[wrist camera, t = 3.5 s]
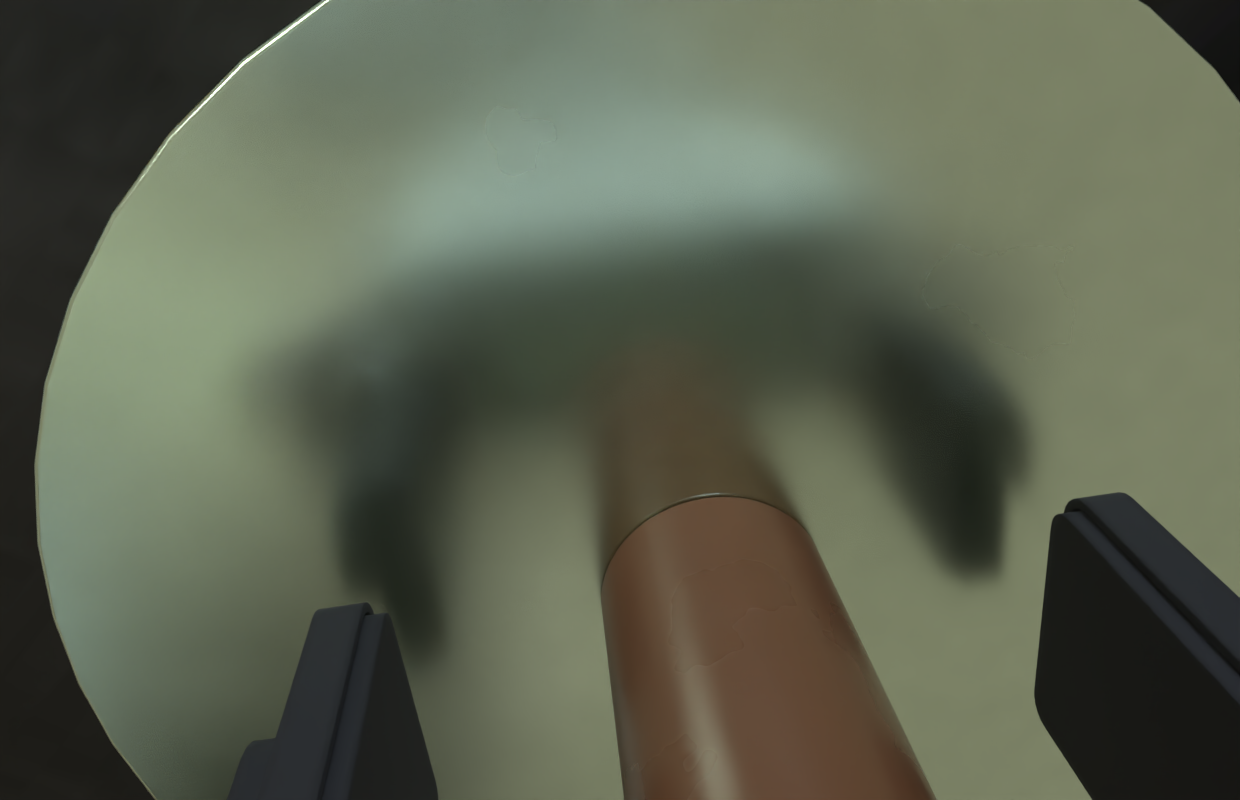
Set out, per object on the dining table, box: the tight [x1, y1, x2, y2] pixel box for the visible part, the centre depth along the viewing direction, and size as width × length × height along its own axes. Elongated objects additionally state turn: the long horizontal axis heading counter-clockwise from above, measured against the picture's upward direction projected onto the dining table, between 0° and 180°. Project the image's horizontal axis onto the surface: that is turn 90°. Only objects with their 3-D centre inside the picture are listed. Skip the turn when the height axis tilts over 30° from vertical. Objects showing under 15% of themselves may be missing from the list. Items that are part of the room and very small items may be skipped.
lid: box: [34, 0, 1240, 800], centre depth 10 cm, size 16×16×6 cm
